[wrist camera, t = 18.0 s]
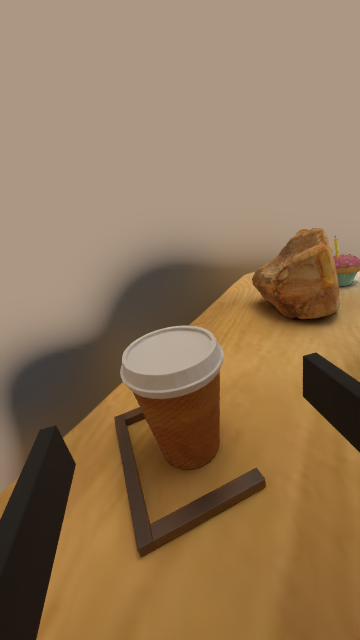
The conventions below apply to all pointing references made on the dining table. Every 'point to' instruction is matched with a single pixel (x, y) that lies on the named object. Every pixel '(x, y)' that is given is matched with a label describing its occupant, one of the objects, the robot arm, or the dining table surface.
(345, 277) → the cupcake
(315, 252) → the rough brown rock
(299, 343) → the dining table surface
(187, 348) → the disposable coffee cup
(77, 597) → the dining table surface
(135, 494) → the walnut frame
